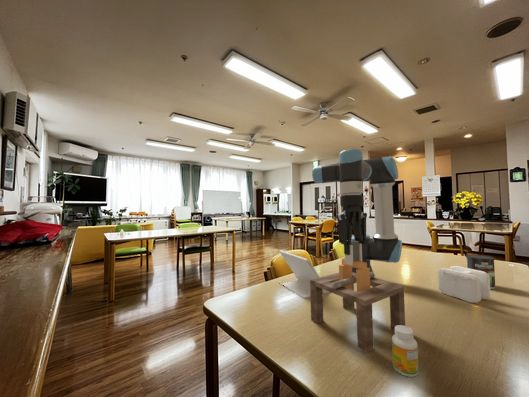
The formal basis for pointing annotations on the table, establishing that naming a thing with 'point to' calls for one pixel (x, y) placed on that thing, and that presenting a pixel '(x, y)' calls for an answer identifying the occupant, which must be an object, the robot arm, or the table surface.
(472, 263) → the coffee can
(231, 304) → the table surface
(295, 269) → the tablet stand
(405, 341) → the supplement bottle
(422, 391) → the table surface
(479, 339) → the table surface
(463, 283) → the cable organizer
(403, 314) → the cutout shelf
